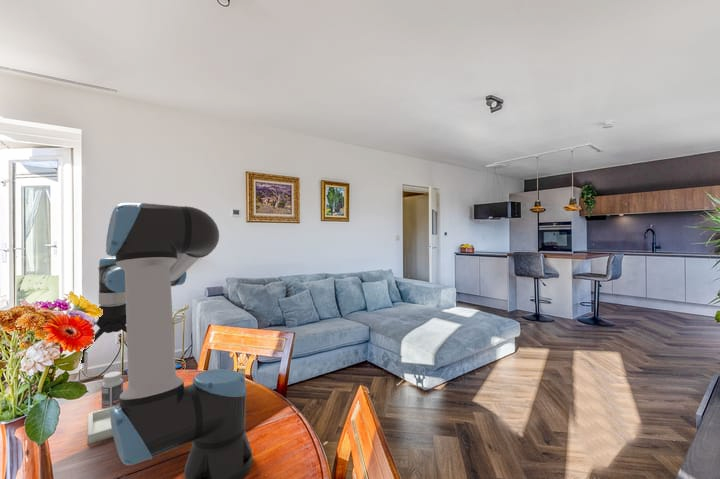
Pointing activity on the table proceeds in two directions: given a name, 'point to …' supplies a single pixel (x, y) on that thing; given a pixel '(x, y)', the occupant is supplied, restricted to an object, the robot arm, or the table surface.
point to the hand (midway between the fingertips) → (112, 367)
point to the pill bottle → (111, 389)
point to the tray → (99, 425)
